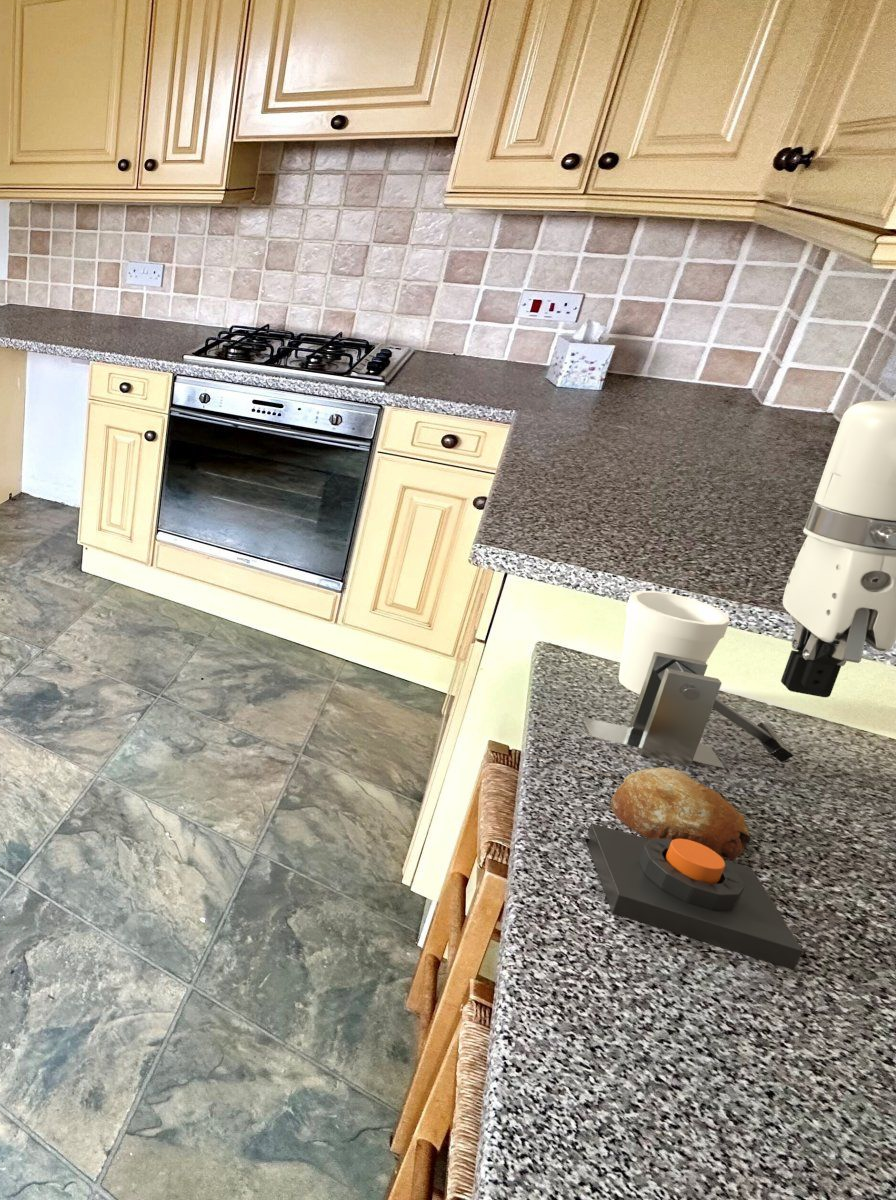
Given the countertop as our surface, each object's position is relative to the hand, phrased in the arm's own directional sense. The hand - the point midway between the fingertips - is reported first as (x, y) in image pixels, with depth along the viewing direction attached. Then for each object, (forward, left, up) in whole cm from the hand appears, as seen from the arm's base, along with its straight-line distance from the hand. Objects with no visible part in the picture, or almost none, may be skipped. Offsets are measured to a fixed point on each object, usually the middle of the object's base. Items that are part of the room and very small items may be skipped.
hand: (804, 690), depth 81 cm
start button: (+13, +24, -9) cm, 29 cm away
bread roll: (+11, +13, -13) cm, 21 cm away
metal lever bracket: (+9, 0, -13) cm, 16 cm away
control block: (+13, +24, -13) cm, 30 cm away
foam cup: (+5, -18, -13) cm, 23 cm away
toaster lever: (+6, 0, -5) cm, 8 cm away
